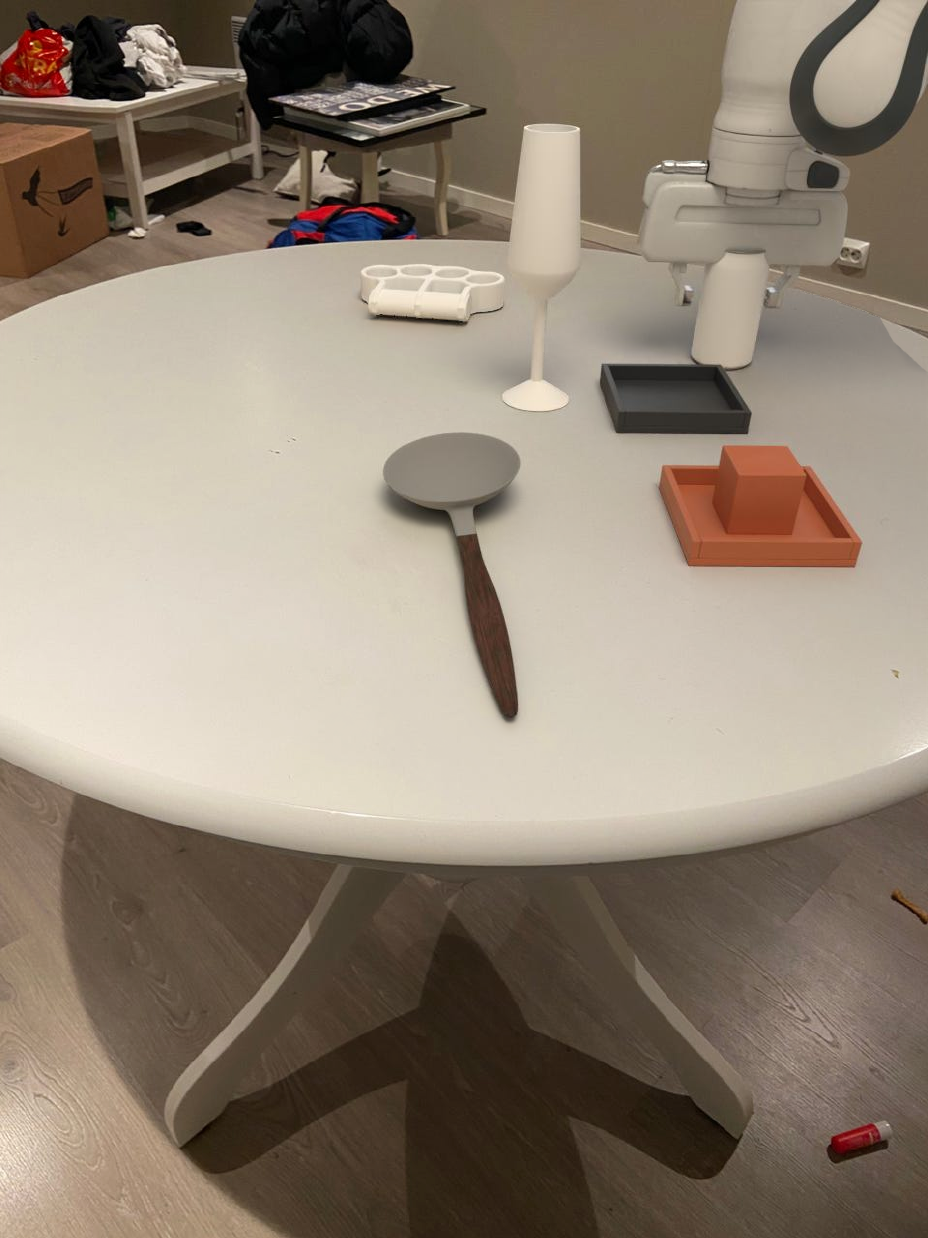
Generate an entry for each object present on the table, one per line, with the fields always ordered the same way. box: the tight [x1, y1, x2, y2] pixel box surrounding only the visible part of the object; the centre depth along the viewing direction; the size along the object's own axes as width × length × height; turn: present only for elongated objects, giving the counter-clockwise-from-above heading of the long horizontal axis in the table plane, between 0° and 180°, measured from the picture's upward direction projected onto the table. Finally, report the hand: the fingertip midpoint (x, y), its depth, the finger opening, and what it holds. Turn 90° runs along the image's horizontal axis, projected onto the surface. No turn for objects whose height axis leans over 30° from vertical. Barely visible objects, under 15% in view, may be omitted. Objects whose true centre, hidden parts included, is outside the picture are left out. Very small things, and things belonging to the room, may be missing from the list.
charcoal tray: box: [599, 362, 753, 435], centre depth 92 cm, size 12×12×2 cm
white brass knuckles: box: [359, 263, 506, 323], centre depth 117 cm, size 3×18×15 cm
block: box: [712, 444, 807, 534], centre depth 73 cm, size 5×5×5 cm
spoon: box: [382, 431, 521, 718], centre depth 68 cm, size 11×33×3 cm, turn 8°
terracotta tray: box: [658, 464, 863, 568], centre depth 74 cm, size 12×12×2 cm
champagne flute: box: [501, 123, 582, 412], centre depth 88 cm, size 7×7×24 cm
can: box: [691, 250, 771, 371], centre depth 100 cm, size 6×6×12 cm
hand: (726, 305), depth 100 cm, fingers open, 8 cm apart
